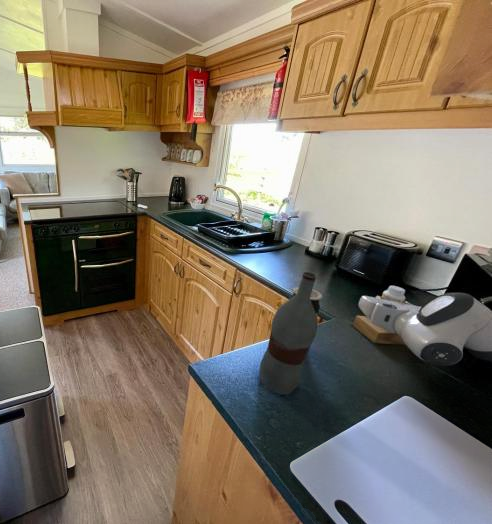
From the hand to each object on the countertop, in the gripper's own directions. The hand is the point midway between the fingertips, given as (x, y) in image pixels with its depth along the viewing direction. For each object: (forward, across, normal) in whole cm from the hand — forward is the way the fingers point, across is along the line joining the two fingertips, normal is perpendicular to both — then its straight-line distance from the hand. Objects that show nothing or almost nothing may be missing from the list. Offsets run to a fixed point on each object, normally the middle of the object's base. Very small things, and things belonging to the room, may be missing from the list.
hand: (390, 300), depth 93 cm
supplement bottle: (-1, 0, +6) cm, 6 cm away
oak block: (-1, 0, +13) cm, 13 cm away
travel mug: (-21, +28, +13) cm, 38 cm away
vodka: (-40, +34, +13) cm, 54 cm away
